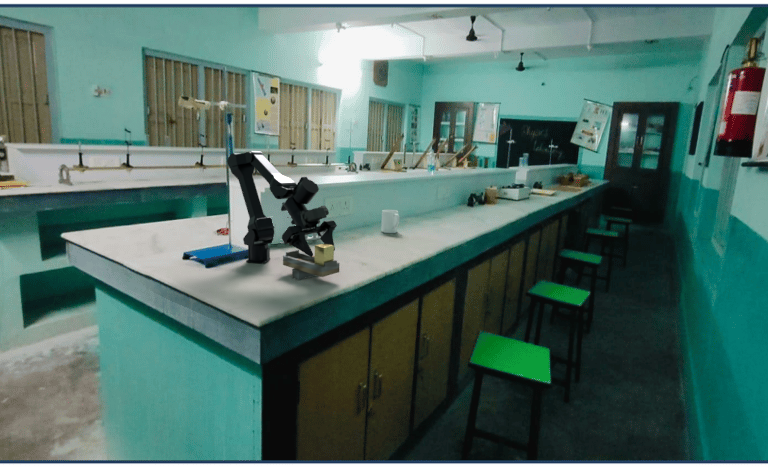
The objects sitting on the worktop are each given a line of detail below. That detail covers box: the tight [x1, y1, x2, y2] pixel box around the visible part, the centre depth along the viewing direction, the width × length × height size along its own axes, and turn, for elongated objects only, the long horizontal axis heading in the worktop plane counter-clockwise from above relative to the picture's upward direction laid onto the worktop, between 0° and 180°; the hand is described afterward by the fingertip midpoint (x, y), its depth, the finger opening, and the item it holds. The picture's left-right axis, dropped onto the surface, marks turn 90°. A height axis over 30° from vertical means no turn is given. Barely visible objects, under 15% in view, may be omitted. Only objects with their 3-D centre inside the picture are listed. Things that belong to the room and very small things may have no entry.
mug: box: [380, 209, 401, 234], centre depth 216 cm, size 12×8×10 cm, turn 29°
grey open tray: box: [282, 249, 340, 281], centre depth 141 cm, size 18×9×7 cm, turn 52°
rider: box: [314, 243, 335, 266], centre depth 136 cm, size 4×4×7 cm
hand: (323, 253), depth 136 cm, fingers open, 9 cm apart
